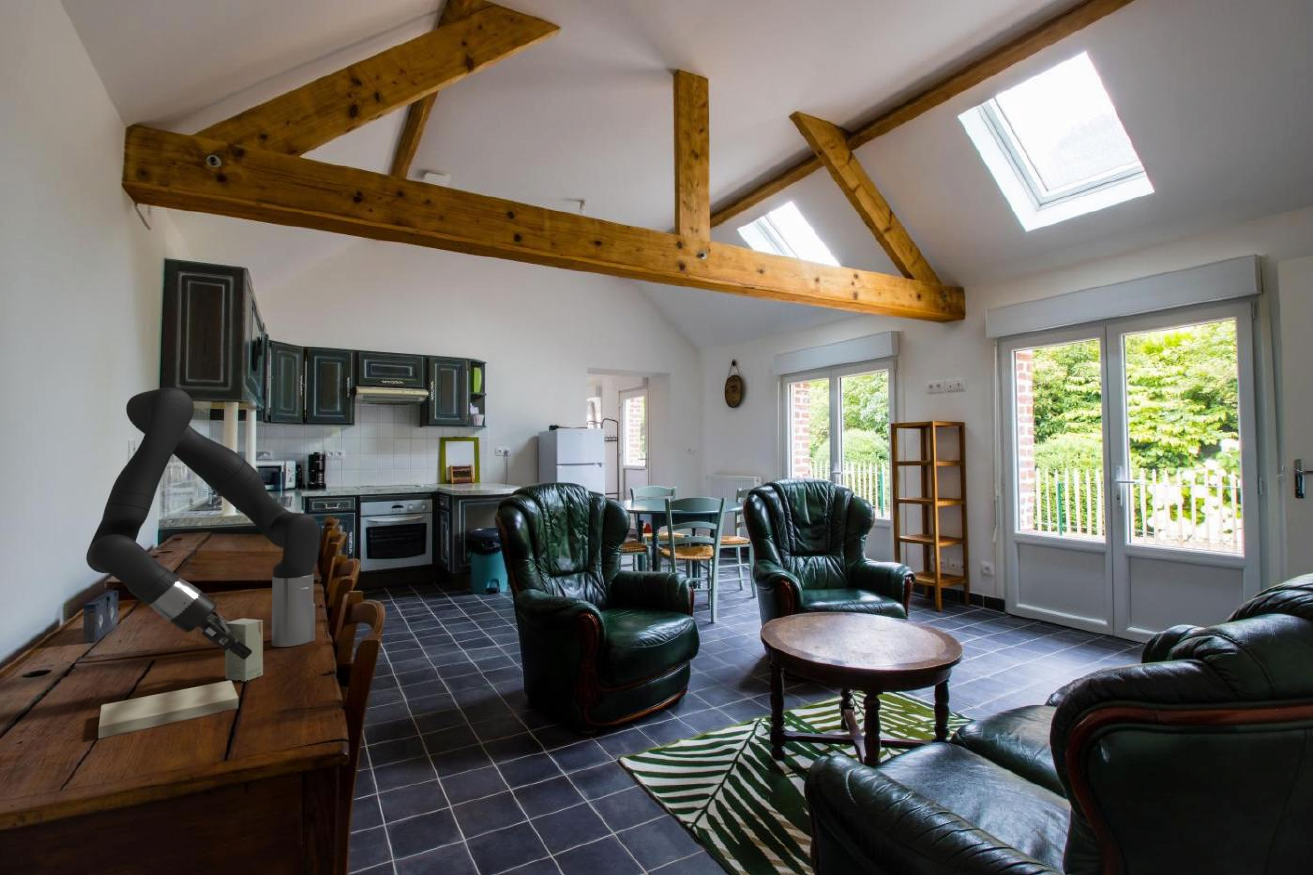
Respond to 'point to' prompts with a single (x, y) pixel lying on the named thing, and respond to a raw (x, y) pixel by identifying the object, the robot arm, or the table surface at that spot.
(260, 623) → the skincare box
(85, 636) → the vhs cassette tape
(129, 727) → the birch board
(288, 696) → the table surface
